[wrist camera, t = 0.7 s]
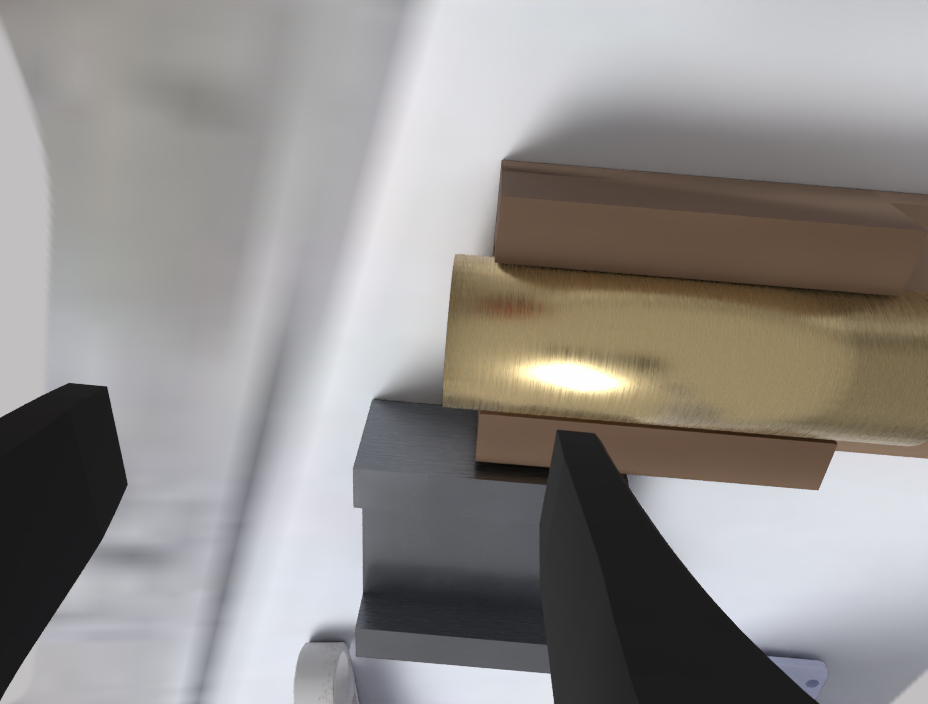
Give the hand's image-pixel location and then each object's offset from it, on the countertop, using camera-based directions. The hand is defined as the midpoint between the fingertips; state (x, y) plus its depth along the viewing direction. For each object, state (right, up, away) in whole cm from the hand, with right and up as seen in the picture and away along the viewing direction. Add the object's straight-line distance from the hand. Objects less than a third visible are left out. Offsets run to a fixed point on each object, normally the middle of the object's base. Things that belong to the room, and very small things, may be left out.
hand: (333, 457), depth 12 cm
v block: (+3, -4, +14) cm, 15 cm away
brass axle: (+8, +2, +7) cm, 11 cm away
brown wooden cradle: (+10, +3, +10) cm, 14 cm away
